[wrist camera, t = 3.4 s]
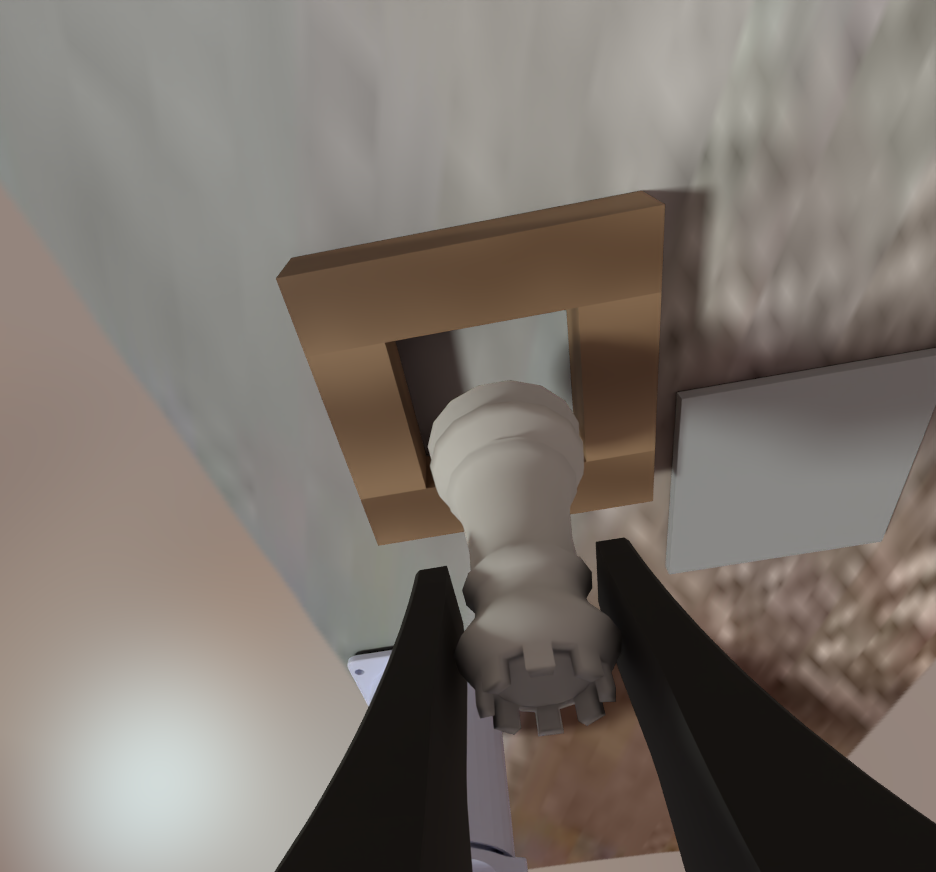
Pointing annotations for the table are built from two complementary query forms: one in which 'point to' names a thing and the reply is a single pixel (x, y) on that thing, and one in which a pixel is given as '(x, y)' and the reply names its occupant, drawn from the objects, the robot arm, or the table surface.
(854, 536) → the slate mat
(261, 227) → the table surface
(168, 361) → the table surface
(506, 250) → the square wooden frame
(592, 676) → the rook chess piece
